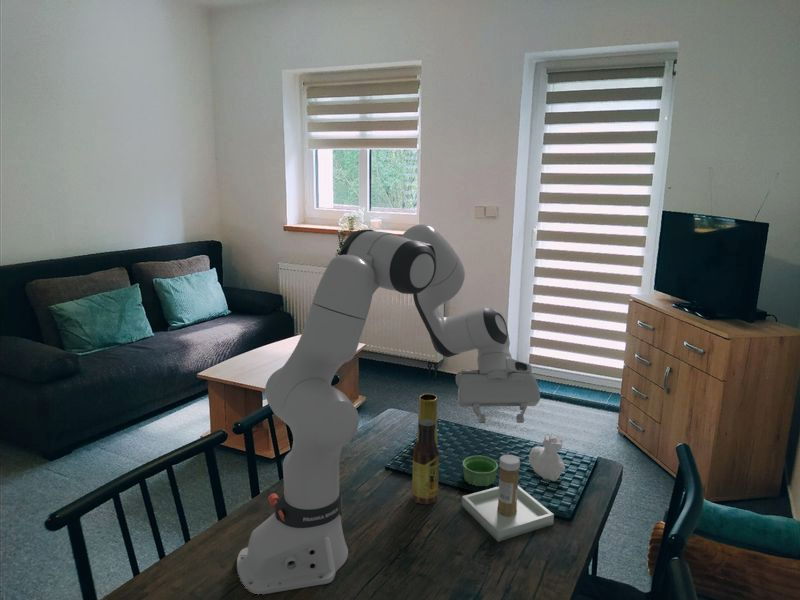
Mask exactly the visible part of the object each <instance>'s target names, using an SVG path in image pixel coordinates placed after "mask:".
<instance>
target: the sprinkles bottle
mask: <svg viewBox="0 0 800 600" xmlns="http://www.w3.org/2000/svg"><path fill="white" fill-rule="evenodd" d="M520 461H521V460H520V458H519V457H517V456H516V455H514V454H513V455H512V454H502V455H500V457H499V462H498V463H499V464H498V467H499V476H498V486H499V491H498V508H497V510H498V512H499V513H500V514H502V515H506V516H512V515H515V514H516V512H517V495H518V486H519V471H520V468H521V467H520V465H521V464H520V463H521V462H520Z"/></svg>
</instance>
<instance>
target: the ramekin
mask: <svg viewBox="0 0 800 600" xmlns="http://www.w3.org/2000/svg"><path fill="white" fill-rule="evenodd" d="M462 468H463V478H464V481H465V482H466V483H467V482H468V483H467V484H469V485H471V484H472V485H471V486H473V485H475V486H474V487H477V486H486V487H489V485H490V486H491V484H492V485H493V484H494V483H495V481H496V476H497V471H498V468H499V464H498V462H497V461H496V460H494V459H493V458H491V457H489V456H485V455H471V456H467V457H466V458H465V459H463V461H462Z"/></svg>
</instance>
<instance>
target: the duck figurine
mask: <svg viewBox="0 0 800 600" xmlns="http://www.w3.org/2000/svg"><path fill="white" fill-rule="evenodd" d="M542 445H543V447H542V446H534V447H532V448H531V450H530V451H529V455H528V461H529V465H530V466H531V468H532V469H533V472H534V473H535V474H537V475H538V476H540V477H542V478H543V479H544V480H548V481H552V482H556V481H557V480H558V478H559V477H560V475H561V474H563V473H564V471H565V469H566V466H565V463H564V461H563V460H562V458H561V457H560V455H559V454H558V450H559V451H561V449H562V446H563V439H562V438H561V437H559V435H546V434H545V435H544V439H543V440H542Z"/></svg>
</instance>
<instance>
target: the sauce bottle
mask: <svg viewBox="0 0 800 600" xmlns="http://www.w3.org/2000/svg"><path fill="white" fill-rule="evenodd" d="M418 427H419V437H418V438H419V440H418V442H417V441H416V443H415V444H414V447H413V457H412V475H411V476H412V481H411V482H412V484H411V485H412V487H411V493H412V499H413V501H414V502H416V503H418V504H421V505H429V504H433V503H435V502H436V501H437V498H438V493H439V469H440V467H439V466H440V452H439V449H438V446H437V445H438V444H437V445H436V442H435V437H434V432H435V422H434V421H433V420H430V419H423V420H420V421H419V423H418V422H417V428H418Z"/></svg>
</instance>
